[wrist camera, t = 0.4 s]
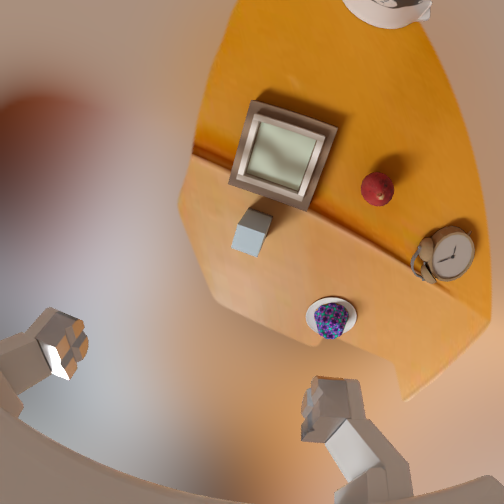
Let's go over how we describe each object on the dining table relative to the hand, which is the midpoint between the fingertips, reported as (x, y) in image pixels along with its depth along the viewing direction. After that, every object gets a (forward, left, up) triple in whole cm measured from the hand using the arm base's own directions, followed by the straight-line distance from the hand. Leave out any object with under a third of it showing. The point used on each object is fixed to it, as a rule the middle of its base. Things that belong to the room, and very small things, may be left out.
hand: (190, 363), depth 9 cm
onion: (+2, +15, -47) cm, 50 cm away
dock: (+3, -3, -47) cm, 47 cm away
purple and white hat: (+34, +20, -48) cm, 62 cm away
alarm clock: (+9, +35, -48) cm, 60 cm away
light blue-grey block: (+18, -3, -47) cm, 51 cm away
